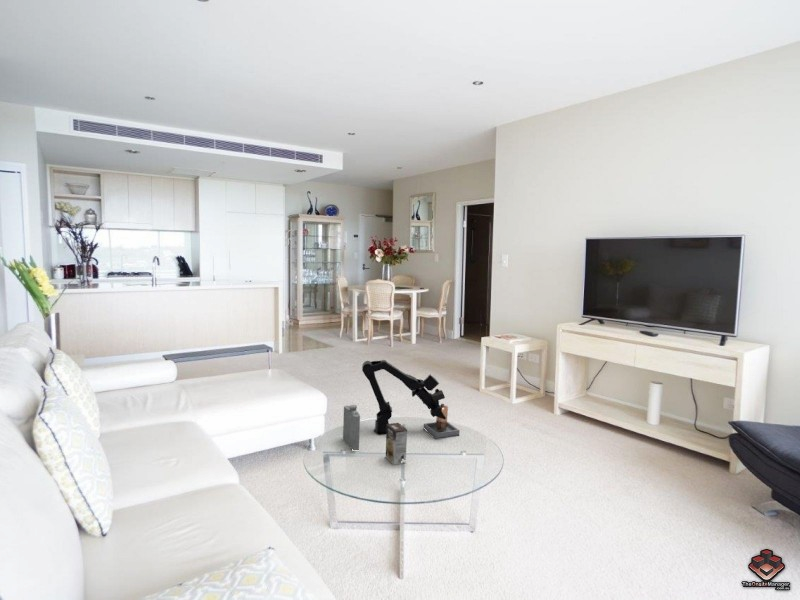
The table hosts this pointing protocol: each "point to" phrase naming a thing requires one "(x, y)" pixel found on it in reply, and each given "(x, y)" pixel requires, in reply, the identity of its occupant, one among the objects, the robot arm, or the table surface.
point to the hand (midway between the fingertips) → (444, 416)
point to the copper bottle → (442, 423)
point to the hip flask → (351, 426)
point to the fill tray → (438, 434)
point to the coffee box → (396, 443)
